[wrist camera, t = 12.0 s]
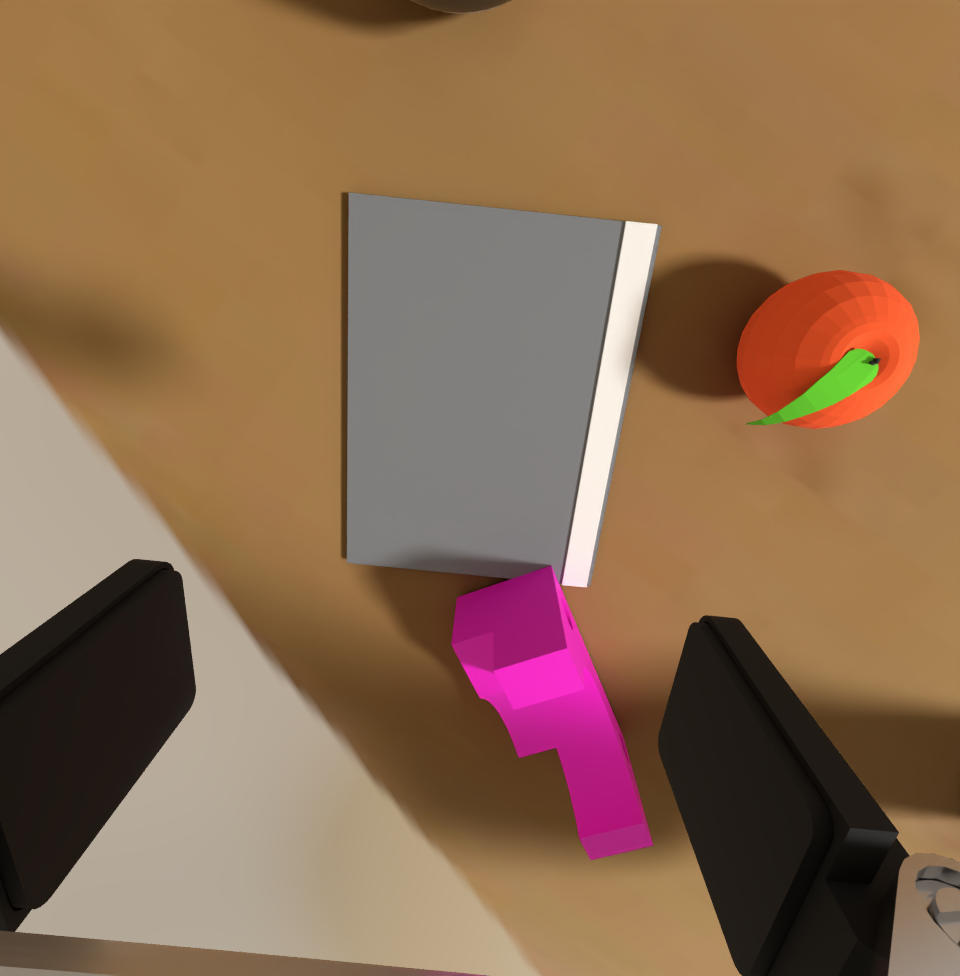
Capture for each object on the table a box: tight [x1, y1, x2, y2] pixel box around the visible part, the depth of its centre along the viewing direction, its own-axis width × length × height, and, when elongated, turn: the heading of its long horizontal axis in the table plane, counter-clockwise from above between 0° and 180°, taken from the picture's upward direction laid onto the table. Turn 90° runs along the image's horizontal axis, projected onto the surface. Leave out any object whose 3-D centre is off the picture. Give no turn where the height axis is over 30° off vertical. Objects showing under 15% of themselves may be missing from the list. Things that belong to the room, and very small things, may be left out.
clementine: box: [737, 270, 920, 429], centre depth 24 cm, size 8×7×7 cm
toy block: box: [451, 566, 654, 860], centre depth 31 cm, size 15×6×8 cm, turn 23°
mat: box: [347, 193, 662, 587], centre depth 28 cm, size 15×20×1 cm
